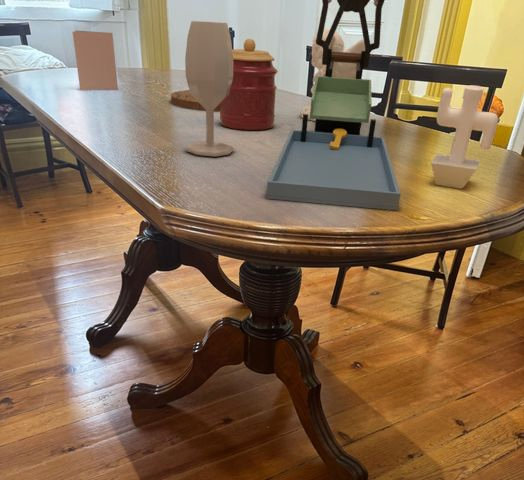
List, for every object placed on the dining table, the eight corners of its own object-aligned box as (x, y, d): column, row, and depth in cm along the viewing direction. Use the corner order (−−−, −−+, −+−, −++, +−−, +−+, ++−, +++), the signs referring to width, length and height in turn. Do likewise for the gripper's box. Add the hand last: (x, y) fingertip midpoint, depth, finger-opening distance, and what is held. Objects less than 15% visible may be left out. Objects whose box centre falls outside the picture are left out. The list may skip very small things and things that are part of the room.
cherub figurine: (328, 112, 143) (337, 28, 131) (359, 121, 134) (372, 31, 123) (290, 115, 136) (297, 26, 125) (320, 124, 128) (330, 29, 117)
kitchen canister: (230, 131, 115) (231, 39, 105) (212, 120, 124) (212, 35, 115) (282, 130, 119) (289, 42, 109) (262, 119, 129) (265, 37, 119)
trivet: (228, 115, 132) (228, 107, 131) (152, 102, 142) (152, 95, 141) (274, 104, 150) (275, 97, 149) (205, 94, 160) (204, 87, 159)
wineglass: (216, 160, 93) (216, 23, 82) (177, 152, 97) (172, 20, 85) (241, 151, 100) (244, 24, 88) (204, 144, 103) (202, 20, 91)
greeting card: (118, 89, 160) (113, 32, 151) (110, 92, 154) (104, 33, 145) (83, 86, 160) (75, 30, 152) (73, 89, 154) (65, 31, 146)
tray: (290, 142, 109) (291, 129, 107) (381, 149, 107) (383, 137, 106) (266, 198, 76) (267, 181, 75) (397, 210, 74) (400, 193, 73)
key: (333, 130, 107) (334, 127, 106) (347, 132, 106) (347, 129, 106) (328, 149, 103) (328, 145, 102) (342, 150, 102) (342, 147, 102)
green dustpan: (317, 80, 122) (320, 49, 118) (368, 83, 121) (372, 53, 116) (309, 118, 105) (312, 84, 101) (368, 123, 104) (374, 89, 100)
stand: (304, 131, 119) (307, 104, 116) (368, 136, 118) (373, 109, 115) (300, 144, 108) (303, 114, 105) (371, 150, 106) (376, 120, 103)
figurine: (477, 193, 84) (506, 92, 75) (419, 184, 87) (441, 85, 78) (480, 182, 89) (507, 87, 81) (425, 174, 92) (446, 81, 84)
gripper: (404, -38, 109) (384, 83, 122) (311, -42, 111) (301, 77, 124) (407, -40, 103) (386, 87, 116) (309, -46, 105) (299, 81, 117)
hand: (342, 82), depth 120 cm, fingers closed on green dustpan, 7 cm apart
